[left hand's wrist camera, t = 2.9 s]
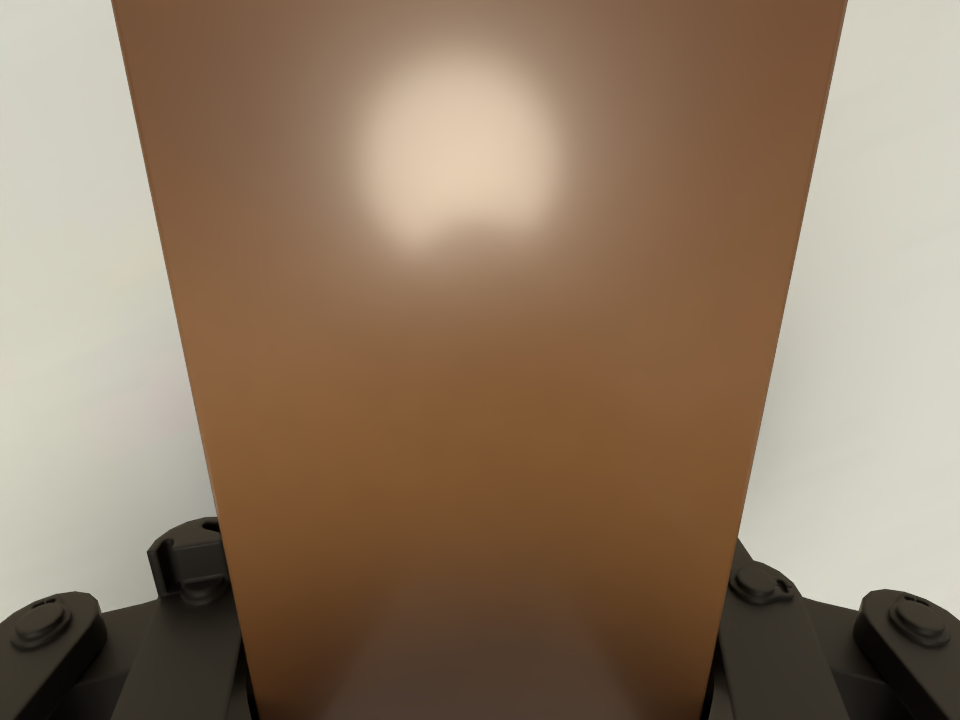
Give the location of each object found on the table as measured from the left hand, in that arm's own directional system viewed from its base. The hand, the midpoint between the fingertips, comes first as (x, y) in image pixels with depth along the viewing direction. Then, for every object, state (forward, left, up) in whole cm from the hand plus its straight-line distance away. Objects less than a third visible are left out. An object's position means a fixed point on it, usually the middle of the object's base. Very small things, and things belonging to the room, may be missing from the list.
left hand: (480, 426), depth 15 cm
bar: (+12, +7, -1) cm, 14 cm away
